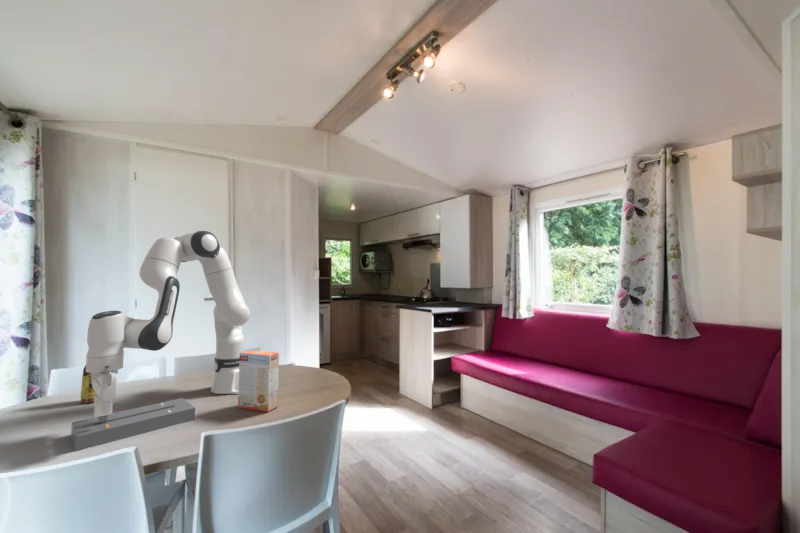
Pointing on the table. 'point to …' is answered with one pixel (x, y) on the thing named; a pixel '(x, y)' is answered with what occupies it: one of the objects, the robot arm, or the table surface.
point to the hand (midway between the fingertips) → (103, 408)
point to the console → (130, 423)
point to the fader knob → (98, 410)
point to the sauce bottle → (87, 388)
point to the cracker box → (258, 380)
